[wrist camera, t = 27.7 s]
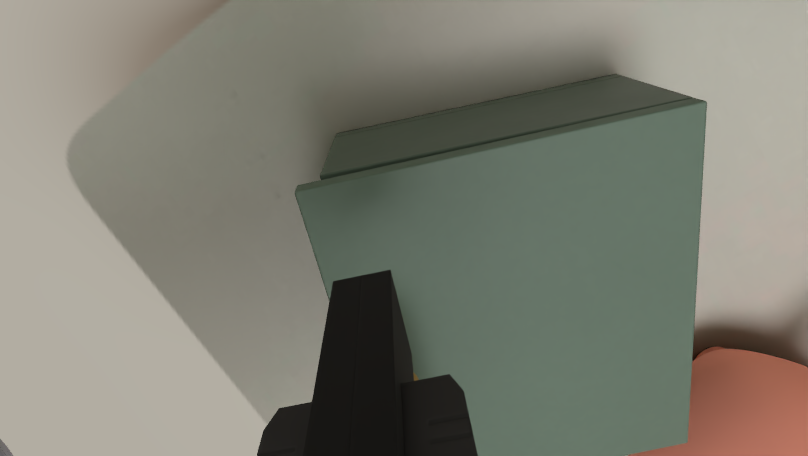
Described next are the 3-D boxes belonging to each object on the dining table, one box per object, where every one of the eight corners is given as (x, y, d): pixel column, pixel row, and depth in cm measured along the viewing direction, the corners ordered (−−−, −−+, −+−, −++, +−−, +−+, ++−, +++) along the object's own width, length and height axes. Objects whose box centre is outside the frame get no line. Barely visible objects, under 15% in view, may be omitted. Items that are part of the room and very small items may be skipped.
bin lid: (393, 490, 26) (400, 618, 20) (296, 184, 19) (267, 257, 13) (679, 431, 26) (763, 545, 20) (694, 97, 18) (834, 134, 13)
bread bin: (404, 387, 33) (407, 476, 26) (335, 133, 25) (319, 175, 19) (622, 347, 32) (678, 430, 26) (617, 73, 25) (694, 96, 18)
